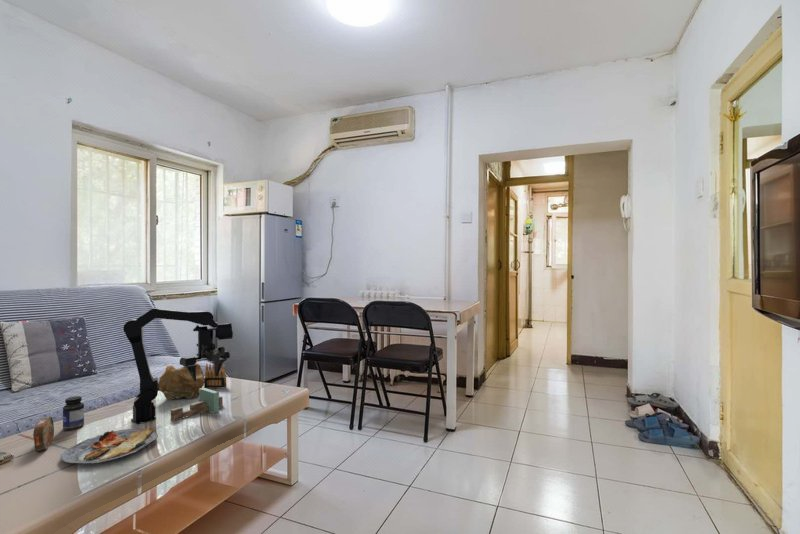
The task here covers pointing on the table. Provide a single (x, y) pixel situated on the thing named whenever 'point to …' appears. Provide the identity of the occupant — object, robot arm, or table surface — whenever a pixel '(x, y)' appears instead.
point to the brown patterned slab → (43, 434)
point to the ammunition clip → (215, 377)
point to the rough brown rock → (181, 382)
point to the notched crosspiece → (210, 399)
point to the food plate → (110, 445)
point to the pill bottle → (73, 413)
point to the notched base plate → (192, 409)
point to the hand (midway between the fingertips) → (205, 378)
